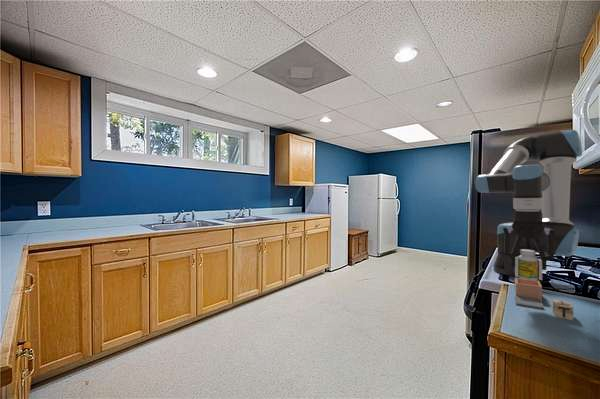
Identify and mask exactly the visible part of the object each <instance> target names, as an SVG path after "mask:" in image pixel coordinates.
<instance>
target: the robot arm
mask: <svg viewBox="0 0 600 399" xmlns="http://www.w3.org/2000/svg"><path fill="white" fill-rule="evenodd" d="M582 148H583V147H582V142H581V138H580V135H579V133H578V131H577V130H575V129H569V130H567V129H566V130H560V131H553V132H546V133H540V134H539V133H538V134H531V135H528V136H525V137H521V138H520V139H518V140H516V141H514V142H513V143H511V144H510V145H509V146H508V147H507V148H505V150H504V151H503V153H502V157H501V158H500V159H499V161H498V162H497V163H496V164H495V165H494V167H493V168H492V169H491V170H490V172H488V173H487V174H485V173H484V174H478V176H476V178H475V185H474V186H475V189H476V191H477V192H478V193H481V194H482V193H486V194H492V193H496V194H497V193H499V194H501V193H512V194H513V196H512V204H513V205H512V208H513V209H514V211H513V214H512V216H513V217H512V218H513V219H512V221H513V222H505V223H504V222H503V223H500V224H498V225H497V232H496V234H497V236H496V237H497V238H496V239H497V254H496V258H495V260H494V262H493V272H496V273H498V274H501V275H506V276H509V277H515V278H520V277H519V276H518V256H520V255H521V254H520V250H521V249H528V250H534V251H535V254H539V256H540V257H539V258H538V271H539V279H538V281H543V271H546V270H547V261H549V260H550V261H551V260H554V259H555V256H557V257H559V256H561V257H571V256H573V255H574V254H575V252H576V250H577V248H578V244H579V238H580V230H579V229H578V228H576V227H575V224H574V223H573V222H571V221H570V202H571V179H572V178H571V176H572V175H571V174H572V165H573V164H574V163H576V162H577V158H579V157H582V156H583V149H582ZM530 161H539V162H538V163H539V164H525V162H530ZM522 164H523V165H522ZM542 167H543V168H542Z"/></svg>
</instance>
